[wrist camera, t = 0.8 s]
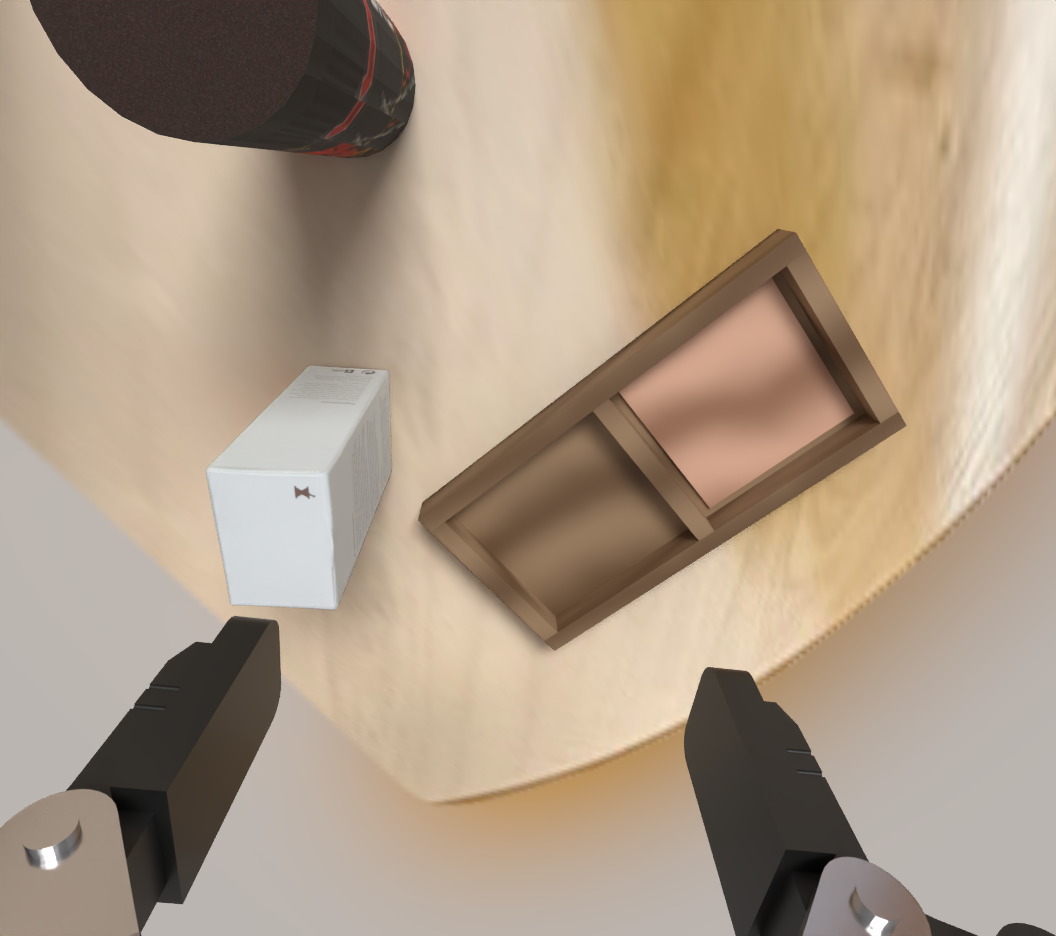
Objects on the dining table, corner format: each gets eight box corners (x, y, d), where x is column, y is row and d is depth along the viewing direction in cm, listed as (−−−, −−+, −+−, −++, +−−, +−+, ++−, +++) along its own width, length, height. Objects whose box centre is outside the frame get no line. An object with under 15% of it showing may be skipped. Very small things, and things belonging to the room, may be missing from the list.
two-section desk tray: (422, 502, 35) (418, 520, 33) (778, 228, 29) (795, 232, 27) (552, 628, 39) (554, 650, 37) (884, 412, 33) (906, 425, 32)
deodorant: (441, 57, 26) (369, -73, 12) (374, 186, 28) (249, 198, 14) (310, -44, 24) (63, -320, 11) (250, 101, 26) (-23, 24, 13)
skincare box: (306, 363, 31) (200, 463, 20) (390, 367, 31) (331, 469, 21) (315, 470, 34) (226, 609, 23) (393, 474, 34) (341, 613, 23)
